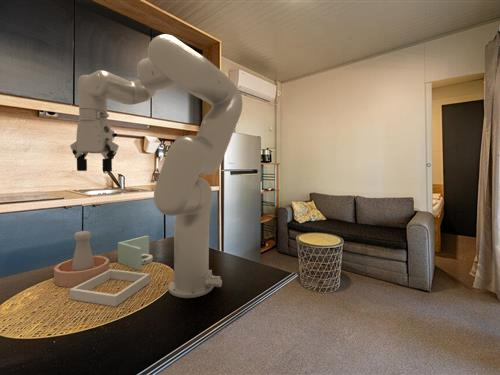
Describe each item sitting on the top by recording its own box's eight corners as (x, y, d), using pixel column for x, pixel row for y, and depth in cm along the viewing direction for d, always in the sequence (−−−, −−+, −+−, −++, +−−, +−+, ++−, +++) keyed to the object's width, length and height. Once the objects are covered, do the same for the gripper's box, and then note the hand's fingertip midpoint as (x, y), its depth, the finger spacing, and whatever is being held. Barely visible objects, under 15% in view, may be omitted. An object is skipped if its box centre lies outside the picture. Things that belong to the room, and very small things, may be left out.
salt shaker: (83, 278, 73) (82, 234, 72) (66, 276, 74) (65, 233, 73) (99, 270, 79) (98, 230, 78) (83, 268, 80) (82, 228, 79)
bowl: (118, 270, 82) (118, 258, 81) (82, 289, 69) (82, 275, 68) (84, 265, 85) (83, 254, 84) (43, 283, 71) (42, 269, 71)
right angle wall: (139, 271, 83) (138, 248, 82) (118, 263, 89) (117, 242, 88) (168, 260, 93) (168, 240, 92) (147, 254, 99) (147, 235, 98)
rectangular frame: (149, 282, 74) (149, 274, 73) (115, 306, 60) (115, 296, 60) (110, 277, 77) (110, 269, 76) (69, 299, 63) (69, 289, 63)
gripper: (125, 119, 81) (125, 171, 82) (81, 120, 85) (82, 170, 86) (107, 114, 74) (108, 171, 75) (60, 115, 78) (61, 170, 79)
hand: (94, 171), depth 80 cm, fingers open, 9 cm apart
